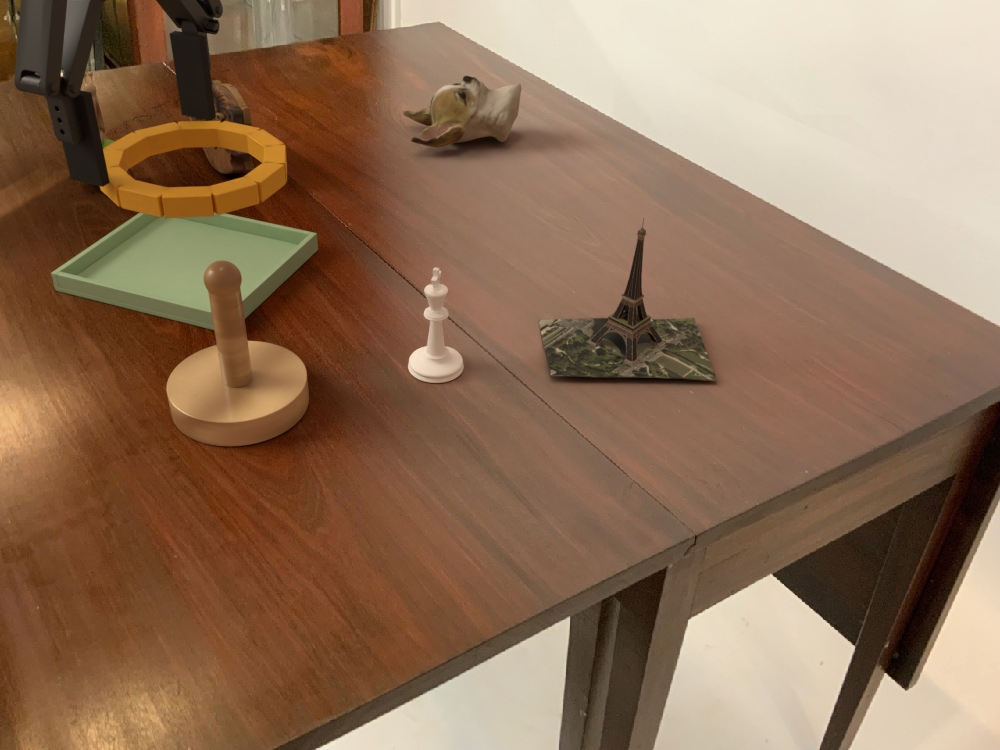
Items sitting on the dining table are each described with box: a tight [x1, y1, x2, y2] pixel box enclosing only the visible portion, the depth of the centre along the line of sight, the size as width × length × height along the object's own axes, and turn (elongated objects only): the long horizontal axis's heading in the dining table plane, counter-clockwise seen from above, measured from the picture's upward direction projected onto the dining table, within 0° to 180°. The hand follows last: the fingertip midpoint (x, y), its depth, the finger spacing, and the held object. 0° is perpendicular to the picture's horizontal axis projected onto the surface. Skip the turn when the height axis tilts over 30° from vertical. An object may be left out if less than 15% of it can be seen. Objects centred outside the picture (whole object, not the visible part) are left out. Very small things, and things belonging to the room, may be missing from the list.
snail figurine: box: [83, 71, 129, 173], centre depth 109 cm, size 5×6×12 cm
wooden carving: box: [188, 79, 255, 175], centre depth 114 cm, size 16×5×10 cm, turn 38°
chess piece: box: [407, 266, 465, 384], centre depth 83 cm, size 5×5×10 cm
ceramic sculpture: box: [402, 75, 522, 148], centre depth 125 cm, size 11×9×15 cm
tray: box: [50, 212, 319, 331], centre depth 97 cm, size 19×17×2 cm
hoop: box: [99, 120, 288, 218], centre depth 73 cm, size 13×13×2 cm
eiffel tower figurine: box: [538, 217, 718, 382], centre depth 86 cm, size 15×10×13 cm
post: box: [166, 260, 310, 447], centre depth 77 cm, size 11×11×13 cm
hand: (148, 146), depth 73 cm, fingers closed on hoop, 12 cm apart
